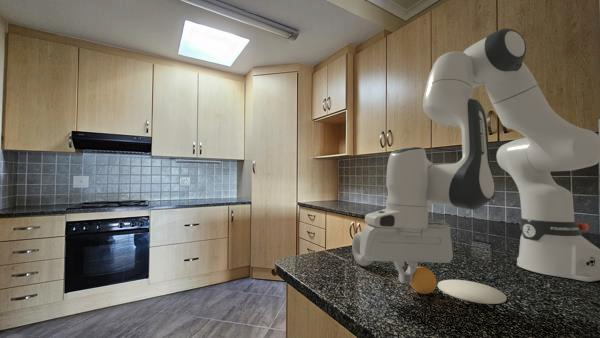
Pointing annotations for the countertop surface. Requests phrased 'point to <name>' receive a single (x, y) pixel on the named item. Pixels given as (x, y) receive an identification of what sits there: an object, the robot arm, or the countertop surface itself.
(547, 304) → the countertop surface
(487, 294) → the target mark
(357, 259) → the donut
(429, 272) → the ball
